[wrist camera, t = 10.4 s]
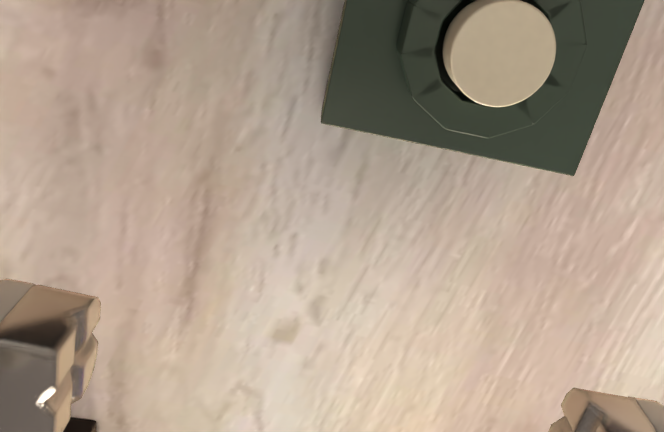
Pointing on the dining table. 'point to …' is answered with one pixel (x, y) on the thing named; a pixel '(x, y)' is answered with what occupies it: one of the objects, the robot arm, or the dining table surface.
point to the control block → (449, 101)
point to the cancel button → (499, 51)
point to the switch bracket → (80, 426)
